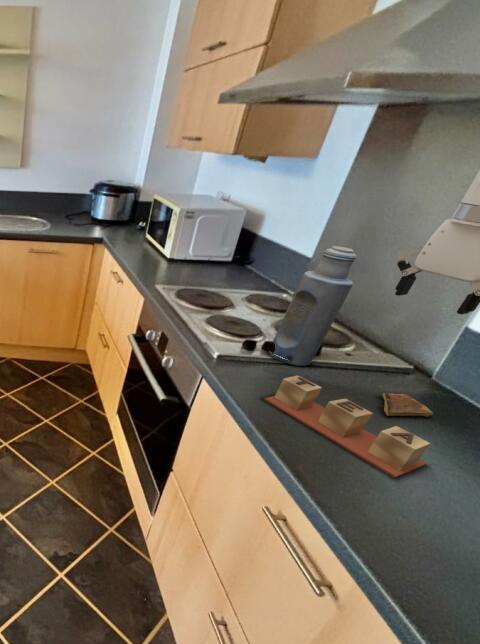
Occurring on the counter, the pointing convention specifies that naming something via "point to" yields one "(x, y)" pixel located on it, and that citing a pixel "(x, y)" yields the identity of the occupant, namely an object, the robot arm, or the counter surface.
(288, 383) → the letter T
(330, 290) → the bottle
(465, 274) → the robot arm
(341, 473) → the counter surface
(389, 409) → the shard
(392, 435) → the letter A
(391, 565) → the counter surface
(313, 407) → the word mat
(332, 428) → the letter E
